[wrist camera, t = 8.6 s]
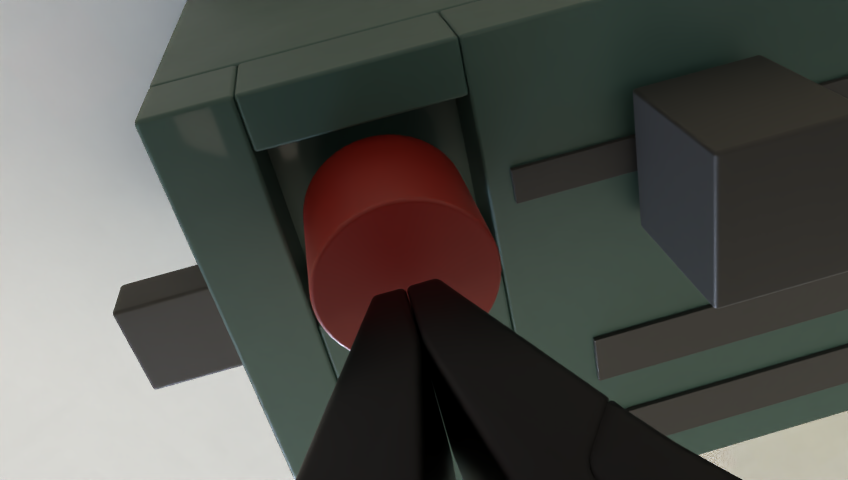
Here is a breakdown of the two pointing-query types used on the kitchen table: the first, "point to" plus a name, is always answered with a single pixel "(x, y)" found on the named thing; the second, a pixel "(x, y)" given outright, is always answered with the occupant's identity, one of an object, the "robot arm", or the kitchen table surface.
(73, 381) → the kitchen table surface
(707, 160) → the slider
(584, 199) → the toaster
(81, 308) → the kitchen table surface
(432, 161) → the button
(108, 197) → the kitchen table surface
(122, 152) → the kitchen table surface
